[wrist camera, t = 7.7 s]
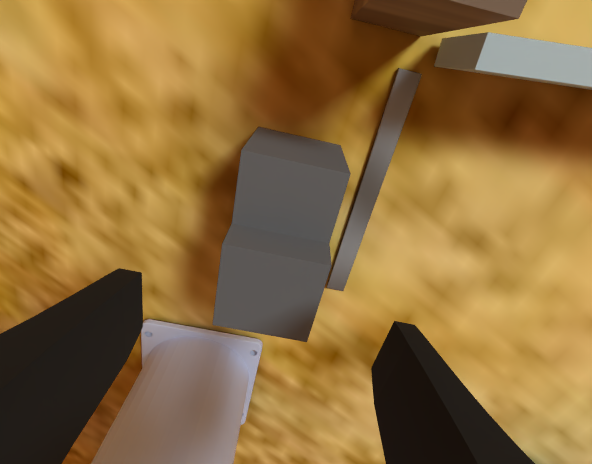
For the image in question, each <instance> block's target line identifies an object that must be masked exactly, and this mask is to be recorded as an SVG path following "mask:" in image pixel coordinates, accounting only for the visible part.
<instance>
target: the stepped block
mask: <svg viewBox="0 0 592 464" xmlns="http://www.w3.org/2000/svg"><path fill="white" fill-rule="evenodd" d="M349 177H350V171H349V168H348V165H347V163H346V160H345V157H344V154H343V151H342V148H341V145H337V144H332V143H328V142H324V141H319V140H315V139H310V138H306V137H302V136H297V135H293V134H288V133H284V132H279V131H275V130H271V129H266V128H262V127H258V128H257V129H256V131H255V132H254V134H253V135H252V136H251V138H250V139H249V140H248V142H247V143H246V144H245V146H244V147H243V148H242V150H241V157H240V165H239V172H238V180H237V188H236V195H235V203H234V210H233V218H232V224H231V226H230V228H229V230H228V233H227V235H226V237H225V239H224V241H223V243H222V250H221V258H220V267H219V275H218V283H217V292H216V300H215V308H214V317H213V325H216V326H222V327H227V328H233V329H238V330H244V331H249V332H255V333H260V334H266V335H271V336H277V337H282V338H287V339H293V340H298V341H304V342H307V340H308V337H309V334H310V331H311V327H312V324H313V321H314V318H315V315H316V312H317V309H318V306H319V303H320V300H321V297H322V293H323V290H324V287H325V284H326V281H327V278H328V275H329V272H330V269H331V256H330V247H329V242H330V239H331V236H332V232H333V229H334V226H335V223H336V219H337V216H338V213H339V210H340V206H341V203H342V200H343V197H344V193H345V190H346V187H347V184H348V180H349Z"/></svg>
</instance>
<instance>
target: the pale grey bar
mask: <svg viewBox="0 0 592 464" xmlns="http://www.w3.org/2000/svg"><path fill="white" fill-rule="evenodd" d="M434 67H441V68H448V69H455V70H462V71H468V72H475V73H482V74H489V75H495V76H502V77H509V78H516V79H522V80H529V81H536V82H543V83H549V84H556V85H563V86H570V87H576V88H583V89H590V90H592V48H588V47H581V46H574V45H568V44H561V43H555V42H548V41H541V40H535V39H528V38H522V37H515V36H508V35H502V34H495V33H489V32H488V33H480V34H473V35H466V36H458V37H451V38H444V39H442V41H441V44H440V48H439V51H438V54H437V58H436V61H435V64H434Z"/></svg>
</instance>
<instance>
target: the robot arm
mask: <svg viewBox="0 0 592 464" xmlns="http://www.w3.org/2000/svg"><path fill="white" fill-rule="evenodd" d="M140 332H141V344H142V370H141V372H140V373H139V375H138V377H137V379H136V381H135V383H134V385H133V386H132V388H131V390H130V392H129V394H128V396H127V398H126V399H125V401H124V403H123V405H122V407H121V409H120V411H119V412H118V414H117V416H116V418H115V420H114V422H113V424H112V425H111V427H110V429H109V431H108V433H107V435H106V437H105V438H104V440H103V442H102V444H101V446H100V448H99V450H98V451H97V453H96V455H95V457H94V459H93V461H92V463H91V464H233V462H234V456H235V451H236V446H237V441H238V435H239V430H240V425H241V424H244V423H245V420H246V415H247V411H248V407H249V402H250V398H251V394H252V389H253V385H254V381H255V376H256V372H257V368H258V364H259V359H260V355H261V351H262V345H263V344H262V342H261V341H260V340H259V339H256V338H250V337H245V336H239V335H234V334H228V333H223V332H217V331H212V330H206V329H201V328H195V327H190V326H184V325H179V324H173V323H168V322H162V321H157V320H151V319H147V320H145V321H144V322H143V309H142V273H141V272H135V271H130V270H125V269H120V268H119V269H117V270H115V271H113V272H112V273H110V274H108V275H106V276H104V277H103V278H101V279H99V280H98V281H96V282H94V283H92V284H91V285H89V286H87V287H86V288H84V289H82V290H80V291H79V292H77V293H75V294H73V295H72V296H70V297H68V298H66V299H65V300H63V301H61V302H59V303H57V304H56V305H54V306H52V307H50V308H49V309H47V310H45V311H43V312H41V313H40V314H38V315H36V316H34V317H32V318H30V319H28V320H26V321H25V322H23V323H21V324H19V325H17V326H15V327H13V328H11V329H9V330H7V331H5V332H3V333H1V334H0V464H62V462H63V460H64V459H65V457H66V455H67V454H68V452H69V450H70V449H71V447H72V445H73V444H74V442H75V441H76V439H77V437H78V436H79V434H80V433H81V431H82V430H83V428H84V427H85V425H86V423H87V422H88V420H89V419H90V417H91V416H92V414H93V413H94V411H95V409H96V408H97V406H98V405H99V403H100V402H101V400H102V399H103V397H104V395H105V394H106V392H107V391H108V389H109V388H110V386H111V385H112V383H113V381H114V380H115V378H116V377H117V375H118V373H119V372H120V370H121V369H122V367H123V365H124V364H125V362H126V361H127V359H128V357H129V355H130V353H131V351H132V349H133V347H134V345H135V342H136V340H137V338H138V336H139V334H140ZM252 350H255V351H252ZM372 384H373V395H374V405H375V410H376V416H377V421H378V426H379V431H380V436H381V441H382V446H383V451H384V456H385V461H386V464H535V463H534V462H533V461H532V460H531V459H530V458H529V457H528V456H527V455H526V454H525V453H524V452H523V451H522V450H521V449H520V448H519V447H518V446H517V445H516V444H515V443H514V442H513V440H512V439H511V438H510V437H509V436H508V435H507V434H506V433H505V432H504V431H503V429H502V428H501V427H500V426H499V425H498V424H497V423H496V422H495V421H494V419H493V418H492V417H491V416H490V415H489V414H488V413H487V412H486V410H485V409H484V408H483V407H482V406H481V405H480V403H479V402H478V401H477V400H476V399H475V398H474V396H473V395H472V394H471V393H470V392H469V391H468V389H467V388H466V387H465V386H464V385H463V383H462V382H461V381H460V380H459V378H458V377H457V376H456V375H455V374H454V372H453V371H452V370H451V369H450V367H449V366H448V365H447V364H446V362H445V361H444V360H443V359H442V357H441V356H440V355H439V354H438V353H437V351H436V350H435V349H434V348H433V346H432V345H431V344H430V343H429V341H428V340H427V339H426V338H425V336H424V335H423V334H422V333H421V332H420V330H419V329H418V328H417V327H416V326H415V325H412V324H407V323H402V322H397V321H394V323H393V325H392V327H391V329H390V331H389V333H388V335H387V337H386V339H385V341H384V343H383V345H382V347H381V349H380V351H379V353H378V355H377V358H376V360H375V362H374V364H373V366H372Z"/></svg>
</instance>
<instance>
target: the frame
mask: <svg viewBox="0 0 592 464" xmlns="http://www.w3.org/2000/svg"><path fill="white" fill-rule="evenodd" d="M526 2H527V0H355V3H354V7H353V11H352V15H351V19H355V20H359V21H363V22H367V23H371V24H375V25H379V26H383V27H387V28H391V29H395V30H398V31H402V32H406V33H410V34H414V35H418V36H426V35H432V34H437V33H443V32H448V31H453V30H459V29H464V28H470V27H475V26H481V25H486V24H492V23H497V22H503V21H508V20H514V19H519V17H520V15H521V13H522V10H523V8H524V6H525V4H526ZM421 75H422V74H420V73H416V72H412V71H408V70H404V69H400V68H398V71H397V74H396V77H395V80H394V83H393V86H392V89H391V92H390V95H389V98H388V101H387V104H386V107H385V110H384V113H383V117H382V120H381V123H380V126H379V129H378V132H377V135H376V138H375V141H374V144H373V147H372V150H371V153H370V156H369V159H368V162H367V165H366V168H365V171H364V174H363V177H362V180H361V184H360V187H359V190H358V193H357V196H356V199H355V202H354V205H353V208H352V211H351V214H350V217H349V220H348V223H347V226H346V229H345V232H344V235H343V238H342V241H341V244H340V248H339V251H338V254H337V257H336V260H335V263H334V266H333V269H332V272H331V275H330V278H329V281H328V284H327V288H330V289H335V290H340V291H343V290H344V288H345V285H346V282H347V279H348V277H349V274H350V271H351V268H352V266H353V263H354V260H355V257H356V254H357V252H358V249H359V246H360V243H361V241H362V238H363V235H364V232H365V230H366V227H367V224H368V221H369V219H370V216H371V213H372V210H373V208H374V205H375V202H376V199H377V197H378V194H379V191H380V188H381V186H382V183H383V180H384V177H385V175H386V172H387V169H388V166H389V164H390V161H391V158H392V155H393V153H394V150H395V147H396V144H397V141H398V139H399V136H400V133H401V130H402V128H403V125H404V122H405V119H406V117H407V114H408V111H409V108H410V106H411V103H412V100H413V97H414V95H415V92H416V89H417V86H418V84H419V81H420V78H421Z"/></svg>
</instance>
